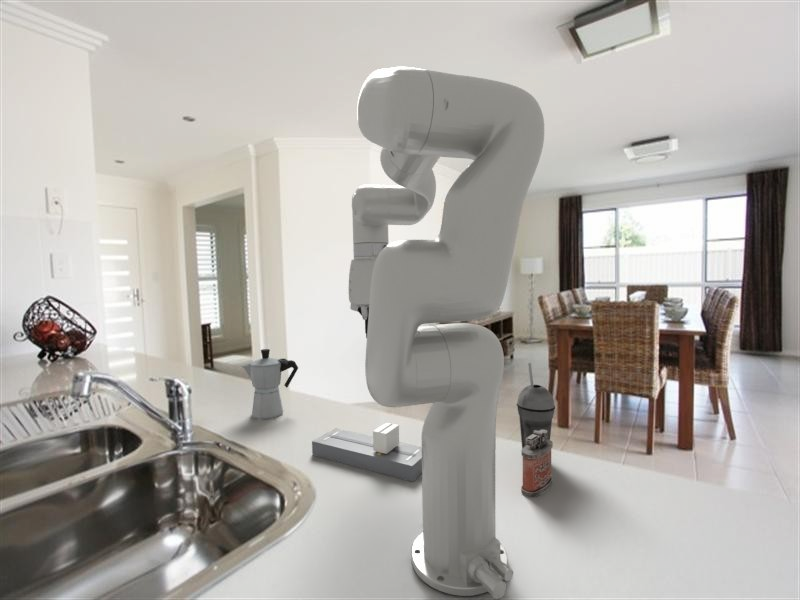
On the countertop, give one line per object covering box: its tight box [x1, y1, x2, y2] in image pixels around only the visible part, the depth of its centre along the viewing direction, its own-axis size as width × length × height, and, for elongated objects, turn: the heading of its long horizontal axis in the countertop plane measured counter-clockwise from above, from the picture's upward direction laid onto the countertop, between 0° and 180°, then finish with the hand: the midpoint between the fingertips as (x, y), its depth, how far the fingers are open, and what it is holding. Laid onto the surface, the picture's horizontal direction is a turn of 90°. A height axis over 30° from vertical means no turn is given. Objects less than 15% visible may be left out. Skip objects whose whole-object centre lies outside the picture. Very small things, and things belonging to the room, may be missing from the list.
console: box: [311, 428, 422, 482], centre depth 84 cm, size 24×8×3 cm, turn 60°
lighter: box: [520, 429, 554, 499], centre depth 72 cm, size 8×3×10 cm, turn 135°
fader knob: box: [372, 422, 400, 454], centre depth 82 cm, size 3×5×4 cm, turn 150°
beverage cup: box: [516, 362, 556, 450], centre depth 81 cm, size 7×7×20 cm
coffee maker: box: [240, 348, 299, 421], centre depth 112 cm, size 15×9×18 cm, turn 104°
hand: (373, 337), depth 89 cm, fingers closed
